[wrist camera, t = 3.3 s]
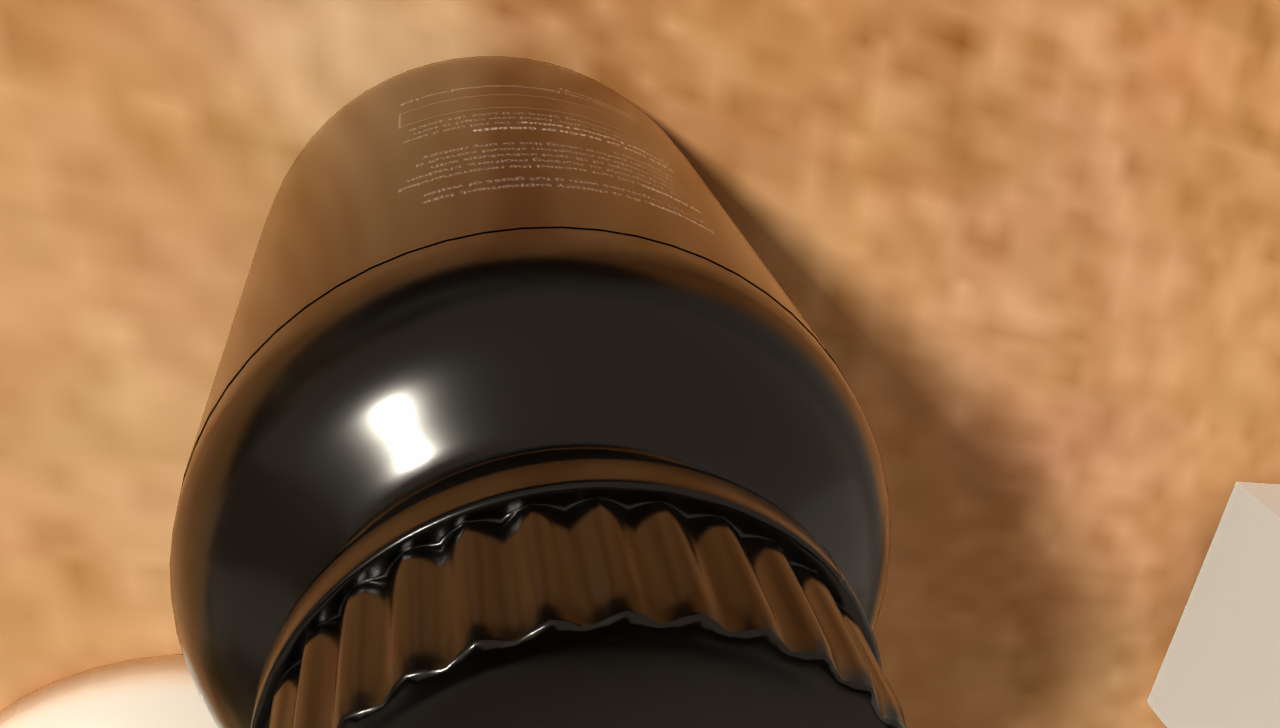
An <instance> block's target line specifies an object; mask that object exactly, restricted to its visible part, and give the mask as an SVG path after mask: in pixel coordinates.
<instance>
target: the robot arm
mask: <svg viewBox="0 0 1280 728" xmlns="http://www.w3.org/2000/svg"><path fill="white" fill-rule="evenodd" d="M1147 703H1148V704H1149V706H1150V707H1151V708H1152V709H1153V711H1154V712H1155V713H1156V715H1157V716H1158V717H1159V718H1160V720H1161V721H1162V722H1163V723H1164V725H1165V726H1166V727H1167V728H1280V484H1265V483H1249V482H1236V484H1235V486H1234V489H1233V491H1232V494H1231V496H1230V499H1229V501H1228V504H1227V506H1226V509H1225V511H1224V513H1223V516H1222V518H1221V521H1220V523H1219V526H1218V528H1217V531H1216V533H1215V536H1214V538H1213V541H1212V543H1211V545H1210V548H1209V550H1208V553H1207V555H1206V558H1205V560H1204V563H1203V565H1202V568H1201V570H1200V573H1199V575H1198V577H1197V580H1196V582H1195V585H1194V587H1193V590H1192V592H1191V595H1190V597H1189V600H1188V602H1187V605H1186V607H1185V609H1184V612H1183V614H1182V617H1181V619H1180V622H1179V624H1178V627H1177V629H1176V632H1175V634H1174V636H1173V639H1172V641H1171V644H1170V646H1169V649H1168V651H1167V654H1166V656H1165V659H1164V661H1163V664H1162V666H1161V668H1160V671H1159V673H1158V676H1157V678H1156V681H1155V683H1154V686H1153V688H1152V691H1151V693H1150V696H1149V698H1148V700H1147Z"/></svg>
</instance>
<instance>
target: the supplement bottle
mask: <svg viewBox="0 0 1280 728" xmlns="http://www.w3.org/2000/svg"><path fill="white" fill-rule="evenodd" d="M890 526H891V521H890V509H889V497H888V491H887V486H886V481H885V476H884V471H883V466H882V461H881V457H880V454H879V451H878V448H877V445H876V442H875V439H874V436H873V433H872V430H871V428H870V426H869V424H868V422H867V420H866V417H865V415H864V413H863V411H862V409H861V407H860V404H859V403H858V401H857V399H856V397H855V395H854V393H853V392H852V390H851V389H850V387H849V384H848V383H847V381H846V380H845V378H844V376H843V375H842V373H841V371H840V370H839V368H838V367H837V365H836V363H835V362H834V360H833V359H832V357H831V356H830V354H829V353H828V351H827V350H826V348H825V347H824V346H823V344H822V343H821V342H820V340H819V339H818V337H817V336H816V335H815V333H814V332H813V331H812V329H811V328H810V326H809V325H808V324H807V322H806V321H805V320H804V318H803V317H802V315H801V314H800V313H799V311H798V310H797V309H796V307H795V306H794V304H793V303H792V302H791V300H790V299H789V298H788V296H787V295H786V294H785V292H784V291H783V289H782V288H781V287H780V285H779V284H778V283H777V281H776V280H775V278H774V277H773V276H772V274H771V273H770V272H769V270H768V269H767V268H766V266H765V265H764V263H763V262H762V261H761V259H760V258H759V257H758V255H757V254H756V252H755V251H754V250H753V248H752V247H751V246H750V244H749V243H748V242H747V240H746V239H745V237H744V236H743V235H742V233H741V232H740V231H739V229H738V228H737V226H736V225H735V224H734V222H733V221H732V220H731V218H730V217H729V216H728V214H727V213H726V211H725V210H724V209H723V207H722V206H721V205H720V203H719V202H718V200H717V199H716V198H715V196H714V195H713V194H712V192H711V191H710V190H709V188H708V187H707V185H706V184H705V183H704V181H703V180H702V179H701V177H700V176H699V174H698V173H697V172H696V170H695V169H694V168H693V166H692V165H691V164H690V163H689V161H688V160H687V159H686V158H685V156H684V155H683V154H682V152H681V151H680V150H679V149H678V148H677V147H676V145H675V144H674V143H673V142H672V140H671V139H670V138H669V137H668V135H667V134H666V133H665V132H664V131H663V130H662V129H661V128H660V127H659V126H658V125H657V124H656V123H655V122H654V121H653V120H652V119H651V118H650V117H648V116H647V115H646V114H645V113H644V112H642V111H641V110H640V109H639V108H638V107H637V106H635V105H634V104H633V103H632V102H630V101H629V100H627V99H626V98H624V97H623V96H621V95H620V94H618V93H617V92H615V91H614V90H612V89H610V88H609V87H607V86H605V85H603V84H601V83H599V82H598V81H596V80H594V79H592V78H589V77H587V76H585V75H582V74H580V73H577V72H575V71H572V70H570V69H566V68H563V67H560V66H556V65H553V64H550V63H545V62H540V61H535V60H530V59H524V58H513V57H503V56H479V57H469V58H459V59H452V60H447V61H442V62H437V63H432V64H429V65H425V66H422V67H419V68H416V69H412V70H409V71H407V72H404V73H402V74H400V75H397V76H395V77H392V78H390V79H388V80H386V81H384V82H382V83H380V84H378V85H376V86H375V87H373V88H371V89H369V90H367V91H366V92H364V93H363V94H361V95H360V96H358V97H357V98H355V99H354V100H352V101H351V102H350V103H348V104H347V105H345V106H344V107H343V108H342V109H341V110H340V111H338V112H337V113H336V114H335V115H334V116H333V117H331V118H330V119H329V120H328V121H327V122H326V123H325V124H324V125H323V126H322V127H321V128H320V129H319V130H318V132H317V133H316V134H315V135H314V136H313V137H312V138H311V139H310V141H309V142H308V143H307V145H306V146H305V147H304V149H303V150H302V151H301V152H300V154H299V155H298V157H297V158H296V160H295V161H294V163H293V165H292V166H291V168H290V169H289V171H288V173H287V174H286V176H285V178H284V180H283V182H282V184H281V186H280V188H279V190H278V192H277V195H276V197H275V199H274V201H273V204H272V207H271V209H270V212H269V215H268V217H267V219H266V222H265V225H264V228H263V231H262V234H261V237H260V240H259V243H258V246H257V249H256V252H255V255H254V258H253V262H252V265H251V268H250V271H249V274H248V277H247V280H246V283H245V286H244V290H243V293H242V296H241V299H240V302H239V305H238V308H237V311H236V314H235V318H234V321H233V324H232V327H231V330H230V333H229V336H228V339H227V342H226V346H225V349H224V352H223V355H222V358H221V361H220V364H219V367H218V370H217V374H216V377H215V380H214V383H213V386H212V389H211V392H210V395H209V398H208V402H207V405H206V408H205V411H204V414H203V417H202V420H201V423H200V426H199V430H198V433H197V436H196V439H195V442H194V445H193V448H192V452H191V455H190V458H189V461H188V464H187V468H186V471H185V474H184V479H183V483H182V488H181V493H180V497H179V502H178V507H177V512H176V517H175V522H174V527H173V534H172V545H171V556H170V584H171V599H172V606H173V612H174V618H175V625H176V631H177V635H178V639H179V642H180V645H181V649H182V652H183V656H184V659H185V662H186V665H187V667H188V669H189V672H190V674H191V676H192V679H193V681H194V684H195V686H196V688H197V691H198V693H199V695H200V697H201V699H202V701H203V702H204V704H205V706H206V708H207V709H208V711H209V713H210V714H211V716H212V718H213V720H214V721H215V723H216V725H217V726H218V728H907V726H906V724H905V720H904V715H903V712H902V709H901V707H900V704H899V702H898V700H897V698H896V696H895V694H894V692H893V690H892V689H891V687H890V685H889V683H888V681H887V679H886V677H885V675H884V673H883V671H882V668H881V662H880V657H879V652H878V648H877V644H876V641H875V638H874V635H873V632H874V629H875V626H876V623H877V620H878V616H879V612H880V608H881V604H882V600H883V596H884V592H885V586H886V579H887V572H888V565H889V557H890Z"/></svg>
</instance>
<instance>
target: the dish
mask: <svg viewBox="0 0 1280 728" xmlns="http://www.w3.org/2000/svg"><path fill="white" fill-rule="evenodd" d="M0 728H218V726H217V725H216V723H215V721H214V720H213V718H212V716H211V714H210V713H209V711H208V709H207V708H206V706H205V704H204V702H203V701H202V699H201V697H200V695H199V693H198V691H197V688H196V686H195V684H194V681H193V679H192V676H191V674H190V672H189V669H188V667H187V665H186V662H185V659H184V656H183V655H166V656H157V657H149V658H140V659H132V660H128V661H123V662H119V663H114V664H110V665H105V666H101V667H96V668H93V669H90V670H87V671H84V672H81V673H78V674H75V675H72V676H69V677H66V678H63V679H60V680H57V681H55V682H53V683H51V684H49V685H46V686H44V687H42V688H40V689H38V690H36V691H34V692H32V693H30V694H27V695H25V696H23V697H21V698H20V699H18V700H17V701H15V702H13V703H12V704H10V705H9V706H7V707H6V708H4V709H2V710H1V711H0Z"/></svg>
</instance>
